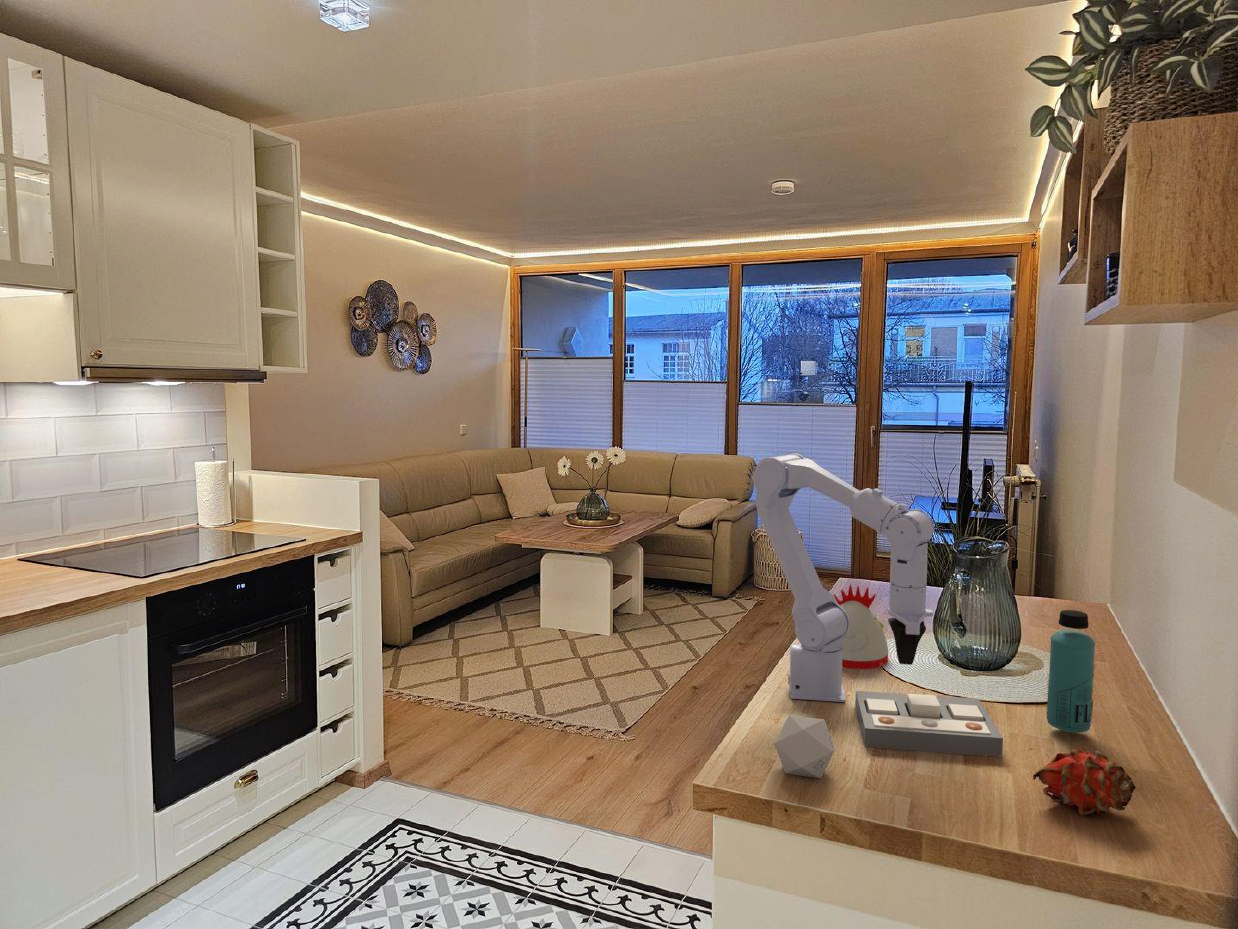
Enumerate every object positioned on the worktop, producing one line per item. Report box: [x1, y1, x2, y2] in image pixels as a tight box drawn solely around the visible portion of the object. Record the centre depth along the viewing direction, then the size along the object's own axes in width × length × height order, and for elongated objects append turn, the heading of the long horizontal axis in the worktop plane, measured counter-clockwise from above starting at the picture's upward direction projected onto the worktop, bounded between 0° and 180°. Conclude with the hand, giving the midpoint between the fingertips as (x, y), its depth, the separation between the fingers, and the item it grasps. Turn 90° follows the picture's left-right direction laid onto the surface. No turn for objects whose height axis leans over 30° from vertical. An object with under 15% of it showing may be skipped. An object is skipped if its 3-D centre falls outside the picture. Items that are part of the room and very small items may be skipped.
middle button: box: [906, 693, 941, 718], centre depth 133 cm, size 4×4×2 cm
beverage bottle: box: [1045, 609, 1096, 734], centre depth 130 cm, size 6×7×20 cm
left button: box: [866, 699, 898, 715], centre depth 134 cm, size 4×4×2 cm
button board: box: [854, 690, 1004, 757], centre depth 132 cm, size 20×15×3 cm
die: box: [773, 714, 836, 780], centre depth 119 cm, size 8×9×10 cm
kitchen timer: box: [833, 584, 889, 670], centre depth 165 cm, size 14×14×15 cm
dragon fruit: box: [1032, 748, 1137, 817], centre depth 108 cm, size 8×8×12 cm
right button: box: [948, 704, 983, 721], centre depth 132 cm, size 4×4×2 cm
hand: (905, 663), depth 136 cm, fingers closed
